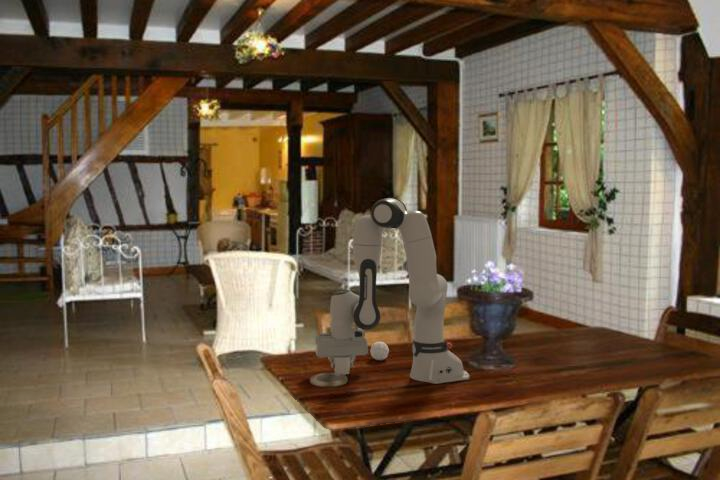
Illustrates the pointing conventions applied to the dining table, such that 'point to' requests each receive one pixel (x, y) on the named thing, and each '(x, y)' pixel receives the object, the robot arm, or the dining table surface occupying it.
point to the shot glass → (342, 364)
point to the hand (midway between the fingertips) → (342, 367)
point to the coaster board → (328, 380)
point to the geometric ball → (379, 350)
